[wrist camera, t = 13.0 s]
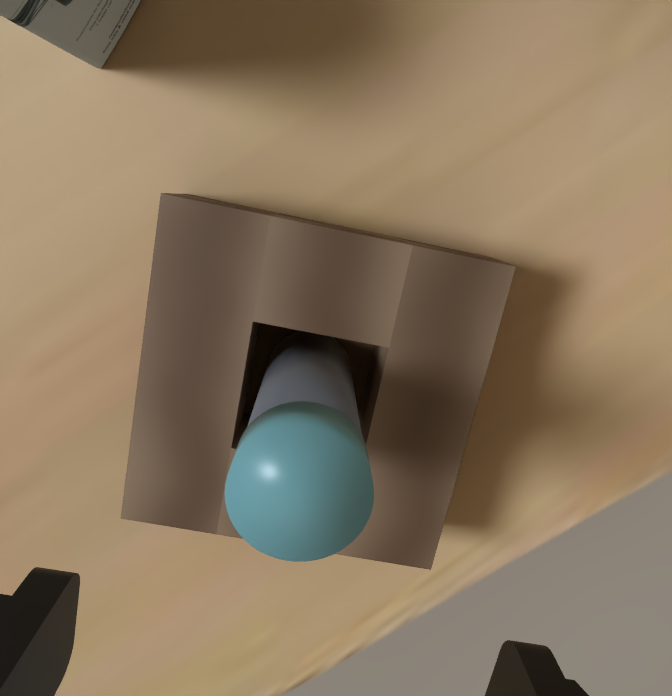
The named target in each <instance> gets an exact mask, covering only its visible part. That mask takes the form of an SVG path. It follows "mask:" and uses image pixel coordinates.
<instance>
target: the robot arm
mask: <svg viewBox="0 0 672 696" xmlns="http://www.w3.org/2000/svg"><path fill="white" fill-rule="evenodd" d="M79 587H80V576H79V574H78V573H72V572H65V571H59V570H52V569H45V568H39V567H36V568H34V569H33V570H32V571H31V572H30V573H29V574H28V575H27V577H26V578H25V579H24V581H23V582H22V583H21V585H20V586H19V587H18V589H17V590H16V591H15V593H14V594H13V595H12V596H10V595H3V594H0V696H54V695H55V693H56V691H57V689H58V687H59V685H60V683H61V681H62V679H63V677H64V674H65V672H66V669H67V666H68V664H69V660H70V657H71V653H72V649H73V644H74V635H75V625H76V616H77V606H78V597H79ZM485 696H589V695H588V694H587V693H586V692H585V691H584V690H583V689H582V688H581V687H580V686H579V684H578V683H577V682H576V681H575V680H569V679H565V677H564V675H563V673H562V671H561V669H560V667H559V666H558V664H557V661H556V659H555V657H554V655H553V654H552V652H551V650H550V649H549V648H548V647H546V646H542V645H537V644H530V643H523V642H517V641H510V640H509V641H508V640H507V641H506V642H504V643H503V645H502V647H501V649H500V652H499V655H498V658H497V661H496V665H495V667H494V670H493V673H492V676H491V679H490V682H489V685H488V688H487V691H486V694H485Z"/></svg>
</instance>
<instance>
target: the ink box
mask: <svg viewBox="0 0 672 696" xmlns="http://www.w3.org/2000/svg"><path fill="white" fill-rule="evenodd" d="M140 1H141V0H0V15H1V16H3V17H5V18H7V19H8V20H10V21H12V22H14V23H15V24H17V25H19V26H21V27H23V28H25V29H26V30H28V31H30V32H32V33H34V34H35V35H37V36H39V37H41V38H43V39H44V40H46V41H48V42H50V43H52V44H54V45H55V46H57V47H59V48H61V49H63V50H65V51H66V52H68V53H70V54H72V55H74V56H76V57H78V58H79V59H81V60H83V61H85V62H87V63H89V64H90V65H92V66H94V67H96V68H101V67H102V66H103V65H104V63H105V62H106V60H107V58H108V57H109V55H110V54H111V52H112V50H113V49H114V47H115V45H116V44H117V42H118V41H119V39H120V37H121V35H122V34H123V32H124V30H125V28H126V26H127V25H128V23H129V21H130V19H131V17H132V16H133V14H134V12H135V10H136V8H137V7H138V5H139V3H140Z"/></svg>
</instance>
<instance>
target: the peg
mask: <svg viewBox="0 0 672 696" xmlns="http://www.w3.org/2000/svg"><path fill="white" fill-rule="evenodd" d="M373 503H374V486H373V479H372V474H371V468H370V462H369V457H368V451H367V448H366V444H365V442H364V439H363V437H362V434H361V428H360V422H359V416H358V410H357V403H356V397H355V391H354V385H353V379H352V373H351V367H350V362H349V358H348V356H347V353H346V352H345V350H344V348H343V347H342V346H341V345H340V344H339V343H338V342H337V341H336V340H335V339H334V338H332V337H330V336H326V335H320V334H315V333H310V332H305V331H301V332H297V333H294V334H292V335H290V336H288V337H286V338H285V339H283V340H282V341H281V342H280V343H279V344H278V345H277V346H276V347H275V349H274V350H273V352H272V354H271V357H270V359H269V362H268V365H267V368H266V371H265V374H264V377H263V380H262V383H261V386H260V390H259V393H258V396H257V399H256V402H255V405H254V408H253V411H252V414H251V417H250V420H249V423H248V426H247V428H246V430H245V431H244V433H243V435H242V436H241V438H240V441H239V443H238V446H237V449H236V452H235V455H234V458H233V461H232V463H231V466H230V469H229V472H228V475H227V479H226V483H225V504H226V509H227V512H228V515H229V518H230V520H231V522H232V524H233V526H234V527H235V529H236V530H237V532H238V533H239V534H240V535H241V536H242V538H243V539H244V540H245V541H246V542H248V543H249V544H250V545H251V546H253V547H254V548H256V549H257V550H259V551H260V552H262V553H265V554H267V555H269V556H272V557H275V558H278V559H282V560H287V561H312V560H317V559H321V558H325V557H328V556H330V555H333V554H335V553H337V552H339V551H341V550H342V549H344V548H345V547H347V546H348V545H349V544H350V543H351V542H353V541H354V540H355V539H356V538H357V537H358V535H359V534H360V533H361V532H362V530H363V529H364V527H365V526H366V524H367V522H368V520H369V518H370V515H371V512H372V509H373Z"/></svg>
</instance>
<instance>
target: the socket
mask: <svg viewBox="0 0 672 696" xmlns="http://www.w3.org/2000/svg"><path fill="white" fill-rule="evenodd" d="M515 269H516V267H515V266H512V265H510V264H507V263H504V262H501V261H498V260H496V259H493V258H490V257H487V256H482V255H477V254H472V253H468V252H463V251H458V250H453V249H448V248H443V247H439V246H434V245H429V244H424V243H419V242H415V241H410V240H405V239H400V238H395V237H390V236H386V235H381V234H376V233H371V232H366V231H362V230H357V229H352V228H347V227H342V226H337V225H333V224H328V223H323V222H318V221H313V220H309V219H304V218H299V217H294V216H289V215H285V214H280V213H275V212H270V211H265V210H260V209H256V208H251V207H246V206H241V205H236V204H232V203H227V202H222V201H217V200H212V199H207V198H203V197H198V196H193V195H188V194H170V193H161V197H160V205H159V213H158V221H157V229H156V237H155V245H154V253H153V262H152V270H151V278H150V286H149V294H148V302H147V310H146V318H145V326H144V334H143V343H142V351H141V359H140V367H139V375H138V383H137V391H136V399H135V407H134V415H133V424H132V432H131V440H130V448H129V456H128V464H127V472H126V480H125V488H124V497H123V505H122V513H121V519H127V520H133V521H140V522H146V523H152V524H158V525H164V526H170V527H176V528H182V529H188V530H194V531H200V532H206V533H212V534H218V535H224V536H230V537H236V538H242V536H241V535H240V534H239V533H238V532H237V530H236V529H235V527H234V526H233V524H232V522H231V520H230V518H229V515H228V512H227V509H226V504H225V483H226V479H227V475H228V472H229V469H230V466H231V463H232V461H233V458H234V455H235V452H236V449H237V446H238V443H239V441H240V438H241V436H242V435H243V433H244V431H245V430H246V428H247V426H248V423H249V420H250V417H251V415H248V414H244V409H245V403H246V398H247V392H248V386H249V381H250V375H251V369H252V363H253V358H254V352H255V346H256V340H257V335H258V329H259V323H263V324H269V325H274V326H279V327H284V328H289V329H295V330H300V331H305V332H310V333H315V334H320V335H326V336H331V337H336V338H341V339H346V340H351V341H357V342H362V343H367V344H372V345H375V348H374V353H373V357H372V361H371V366H370V370H369V374H368V379H367V383H366V388H365V392H364V396H363V401H362V405H361V410H360V414H359V422H360V428H361V434H362V437H363V439H364V442H365V444H366V448H367V451H368V457H369V462H370V468H371V474H372V479H373V486H374V503H373V509H372V512H371V515H370V518H369V520H368V522H367V524H366V526H365V527H364V529H363V530H362V532H361V533H360V534H359V535H358V537H357V538H356V539H355V540H354V541H353V542H351V543H350V544H349V545H348V546H347V547H345V548H344V549H342V550H341V551H339V552H337V553H335V554H339V555H345V556H351V557H357V558H363V559H369V560H375V561H382V562H388V563H394V564H400V565H406V566H412V567H418V568H424V569H430V570H431V567H432V564H433V560H434V556H435V553H436V549H437V546H438V542H439V539H440V535H441V532H442V528H443V524H444V521H445V517H446V514H447V510H448V507H449V503H450V500H451V496H452V493H453V489H454V485H455V482H456V478H457V475H458V471H459V468H460V464H461V461H462V457H463V453H464V450H465V446H466V443H467V439H468V436H469V432H470V429H471V425H472V421H473V418H474V414H475V411H476V407H477V404H478V400H479V397H480V393H481V390H482V386H483V382H484V379H485V375H486V372H487V368H488V365H489V361H490V358H491V354H492V350H493V347H494V343H495V340H496V336H497V333H498V329H499V326H500V322H501V318H502V315H503V311H504V308H505V304H506V301H507V297H508V294H509V290H510V286H511V283H512V279H513V276H514V272H515ZM242 539H243V538H242Z"/></svg>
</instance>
